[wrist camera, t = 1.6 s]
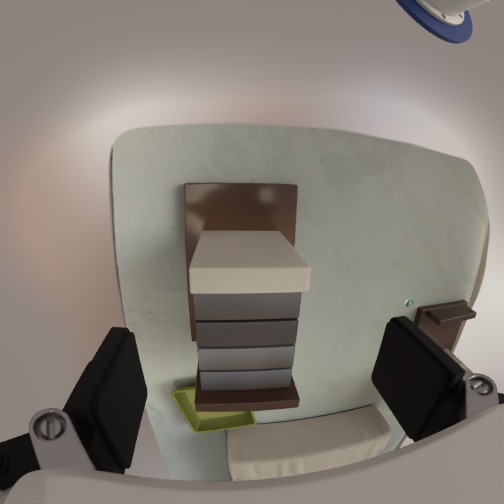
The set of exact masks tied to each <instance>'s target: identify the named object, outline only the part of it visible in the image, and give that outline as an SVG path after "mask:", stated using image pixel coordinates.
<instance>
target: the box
mask: <svg viewBox="0 0 504 504" xmlns="http://www.w3.org/2000/svg"><path fill="white" fill-rule="evenodd" d="M391 434H392V431H391V429H390V427H389V425H388V424H387V422H386V420H385V419H384V417H383V416H382V415H381V413H380V412H379V411H378V409H377V408H376V407H375V406H373V405H372V406H368V407H364V408H360V409H355V410H351V411H347V412H342V413H337V414H332V415H327V416H321V417H315V418H309V419H303V420H296V421H288V422H279V423H269V424H256V425H251V426H246V427H240V428H233V429H226V446H227V462H228V467H229V471H230V475H231V477H232V481H245V480H259V479H269V478H278V477H286V476H293V475H300V474H306V473H311V472H317V471H322V470H327V469H331V468H335V467H340V466H344V465H348V464H352V463H355V462H359V461H363V460H366V459H369V458H373V457H376V456H378V455H379V454H380V452H381V451H382V450H383V449H384V447H385V446H386V445H387V443H388V441H389V439H390V437H391Z"/></svg>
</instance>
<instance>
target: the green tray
mask: <svg viewBox="0 0 504 504" xmlns="http://www.w3.org/2000/svg"><path fill="white" fill-rule="evenodd" d="M195 389H196V386H189V387H182V388H178V389H176V390H174V391H172V392H171V395H172V397H173V399H174V401H175V403H176V404H177V406H178V408H179V409H180V411H181V413H182V414H183V416H184V418H185V419H186V421H187V423H188V424H189V426H190V428H191V429H192V431H193V432H195V433H202V432H211V431H219V430H226V429H233V428H240V427H246V426H251V425H255V424H256V419H255V417H254V414H253V411H240V412H196V411H195V405H194V401H195Z"/></svg>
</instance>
